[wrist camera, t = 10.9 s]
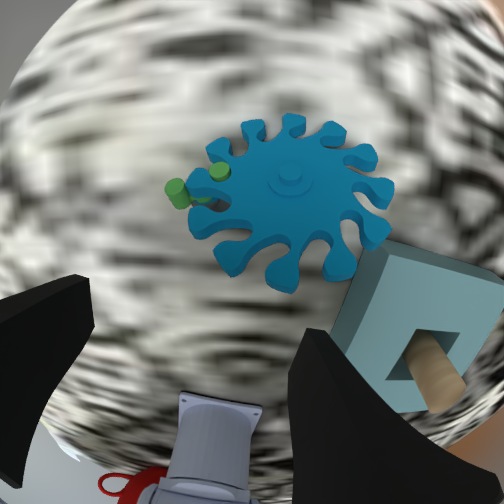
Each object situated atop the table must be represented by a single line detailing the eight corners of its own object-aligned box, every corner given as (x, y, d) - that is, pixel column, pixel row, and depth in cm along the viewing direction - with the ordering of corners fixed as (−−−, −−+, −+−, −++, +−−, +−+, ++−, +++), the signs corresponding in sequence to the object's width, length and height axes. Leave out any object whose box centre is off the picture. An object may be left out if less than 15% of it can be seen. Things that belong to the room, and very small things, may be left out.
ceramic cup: (118, 439, 29) (98, 491, 20) (218, 478, 32) (211, 528, 23) (105, 456, 34) (89, 496, 24) (186, 490, 37) (178, 530, 27)
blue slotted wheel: (381, 114, 13) (412, 290, 9) (363, 177, 18) (369, 320, 14) (190, 108, 15) (131, 266, 11) (212, 169, 20) (180, 302, 16)
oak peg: (413, 345, 20) (449, 410, 13) (386, 343, 20) (421, 415, 13) (427, 317, 19) (473, 381, 12) (401, 314, 19) (445, 384, 12)
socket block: (424, 385, 23) (435, 408, 19) (306, 383, 22) (310, 413, 19) (490, 270, 17) (512, 288, 14) (368, 234, 17) (389, 254, 14)
